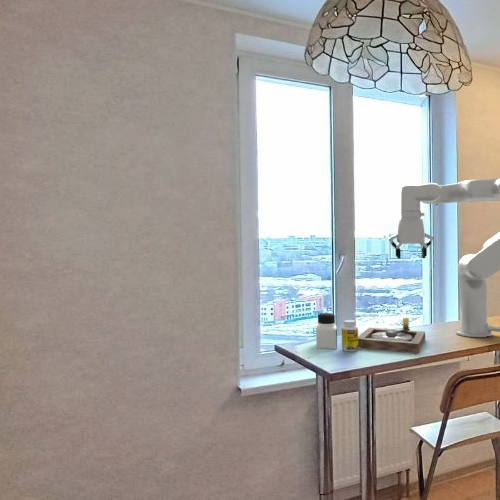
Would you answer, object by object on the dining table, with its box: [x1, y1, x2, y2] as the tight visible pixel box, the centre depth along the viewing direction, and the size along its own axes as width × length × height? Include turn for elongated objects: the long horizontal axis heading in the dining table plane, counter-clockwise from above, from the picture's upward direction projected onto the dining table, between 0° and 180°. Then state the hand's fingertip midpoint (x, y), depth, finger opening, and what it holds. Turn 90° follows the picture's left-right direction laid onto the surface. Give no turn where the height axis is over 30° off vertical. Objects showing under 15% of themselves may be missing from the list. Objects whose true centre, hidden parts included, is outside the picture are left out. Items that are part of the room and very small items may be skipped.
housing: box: [358, 327, 426, 354], centre depth 160 cm, size 21×21×3 cm
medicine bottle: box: [315, 312, 338, 350], centre depth 158 cm, size 7×7×12 cm
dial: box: [372, 316, 412, 342], centre depth 160 cm, size 16×14×7 cm
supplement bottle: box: [341, 319, 359, 353], centre depth 152 cm, size 6×6×10 cm
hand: (411, 258), depth 176 cm, fingers open, 9 cm apart
